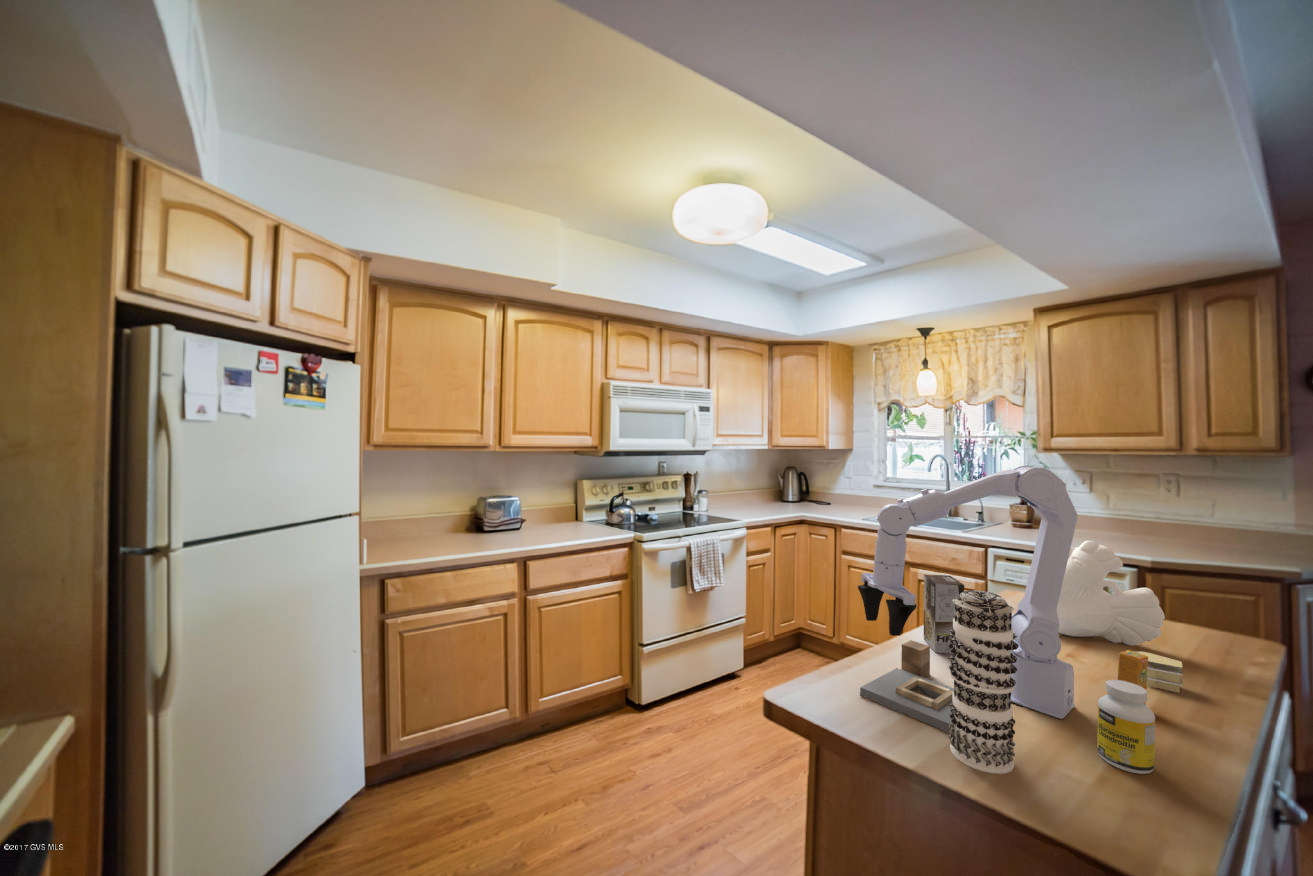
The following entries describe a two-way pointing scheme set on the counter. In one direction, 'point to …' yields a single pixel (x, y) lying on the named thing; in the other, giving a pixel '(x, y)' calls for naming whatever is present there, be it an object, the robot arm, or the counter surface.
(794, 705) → the counter surface
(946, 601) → the coffee box
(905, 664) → the walnut block
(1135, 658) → the supplement box
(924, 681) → the plate
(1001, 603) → the decorative candle
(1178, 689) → the cream layered block
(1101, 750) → the pill bottle
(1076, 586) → the decorative rooster
